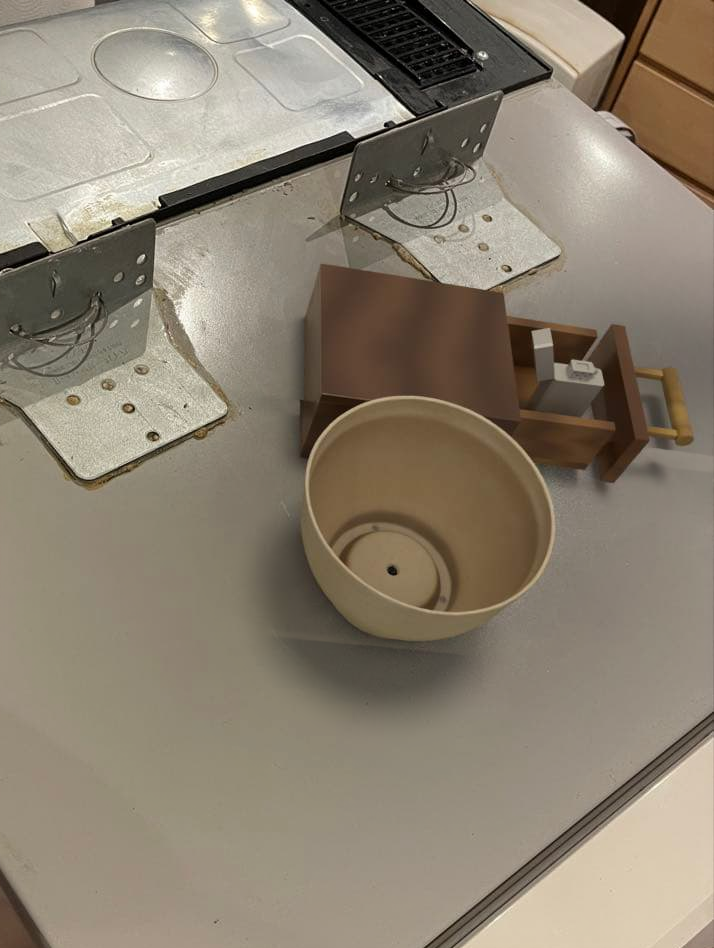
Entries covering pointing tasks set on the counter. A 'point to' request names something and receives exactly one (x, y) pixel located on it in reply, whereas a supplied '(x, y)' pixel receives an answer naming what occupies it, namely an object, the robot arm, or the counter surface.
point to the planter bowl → (423, 518)
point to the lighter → (562, 380)
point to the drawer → (614, 407)
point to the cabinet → (403, 347)
